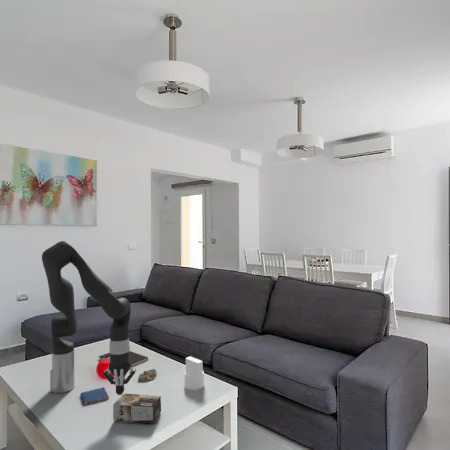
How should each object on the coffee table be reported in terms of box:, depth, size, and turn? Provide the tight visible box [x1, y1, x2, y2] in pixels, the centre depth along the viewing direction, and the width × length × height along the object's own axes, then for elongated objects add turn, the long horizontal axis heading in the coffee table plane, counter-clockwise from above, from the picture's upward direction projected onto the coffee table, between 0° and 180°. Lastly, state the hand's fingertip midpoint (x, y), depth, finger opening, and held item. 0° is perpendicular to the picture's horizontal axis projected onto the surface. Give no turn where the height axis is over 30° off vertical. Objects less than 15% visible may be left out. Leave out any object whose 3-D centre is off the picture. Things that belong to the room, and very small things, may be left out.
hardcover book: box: [98, 350, 149, 368], centre depth 189 cm, size 16×23×2 cm
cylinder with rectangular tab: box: [183, 356, 205, 391], centre depth 158 cm, size 9×9×12 cm
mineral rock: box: [138, 368, 158, 382], centre depth 167 cm, size 11×4×8 cm
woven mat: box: [79, 387, 110, 406], centre depth 148 cm, size 10×11×2 cm
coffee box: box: [112, 393, 162, 424], centre depth 133 cm, size 9×6×16 cm
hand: (120, 393), depth 134 cm, fingers closed
